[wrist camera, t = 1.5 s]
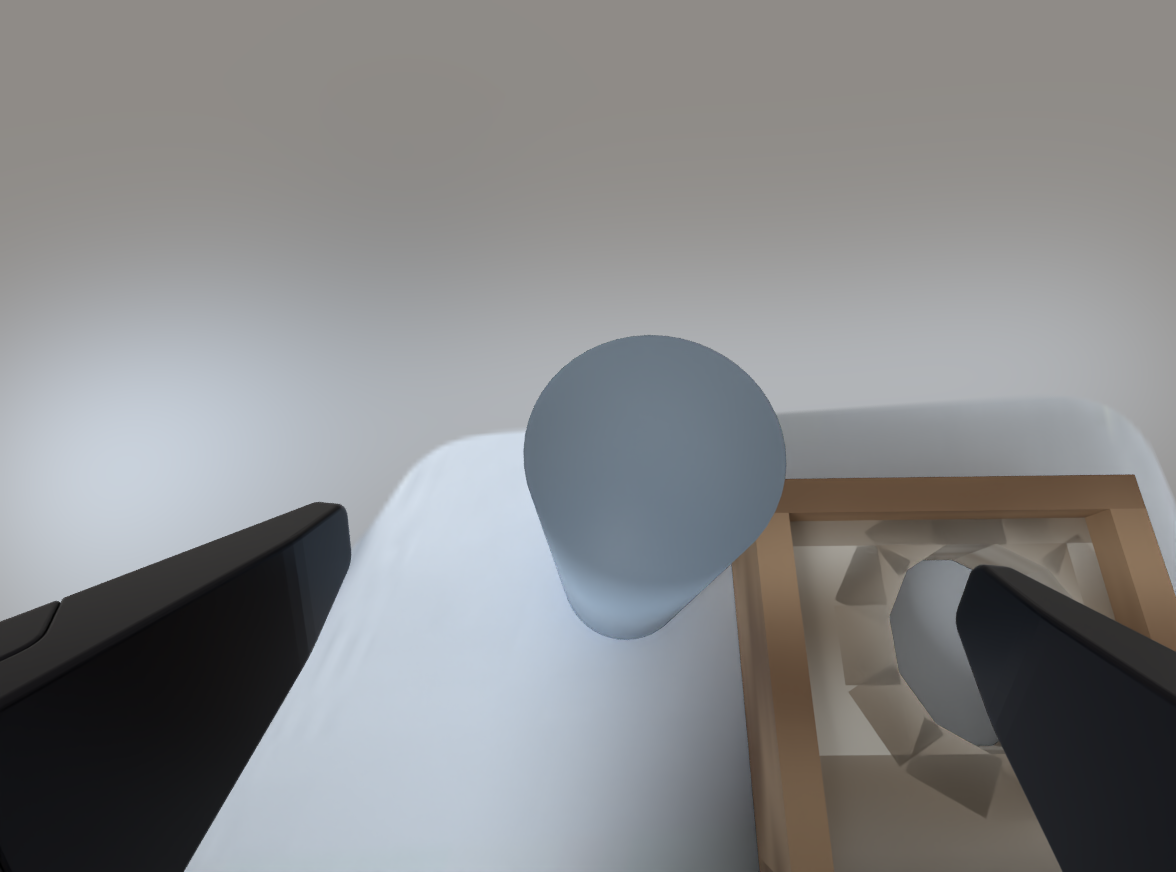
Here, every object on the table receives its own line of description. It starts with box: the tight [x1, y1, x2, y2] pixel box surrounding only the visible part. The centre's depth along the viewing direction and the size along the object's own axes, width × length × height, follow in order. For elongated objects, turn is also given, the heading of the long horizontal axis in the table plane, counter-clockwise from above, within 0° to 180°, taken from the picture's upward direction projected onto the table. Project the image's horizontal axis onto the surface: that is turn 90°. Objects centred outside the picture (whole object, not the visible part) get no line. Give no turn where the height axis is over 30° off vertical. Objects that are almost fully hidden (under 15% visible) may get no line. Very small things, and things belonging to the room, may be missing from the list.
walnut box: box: [732, 475, 1176, 872], centre depth 18 cm, size 11×11×4 cm
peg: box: [524, 335, 786, 640], centre depth 15 cm, size 4×4×12 cm
